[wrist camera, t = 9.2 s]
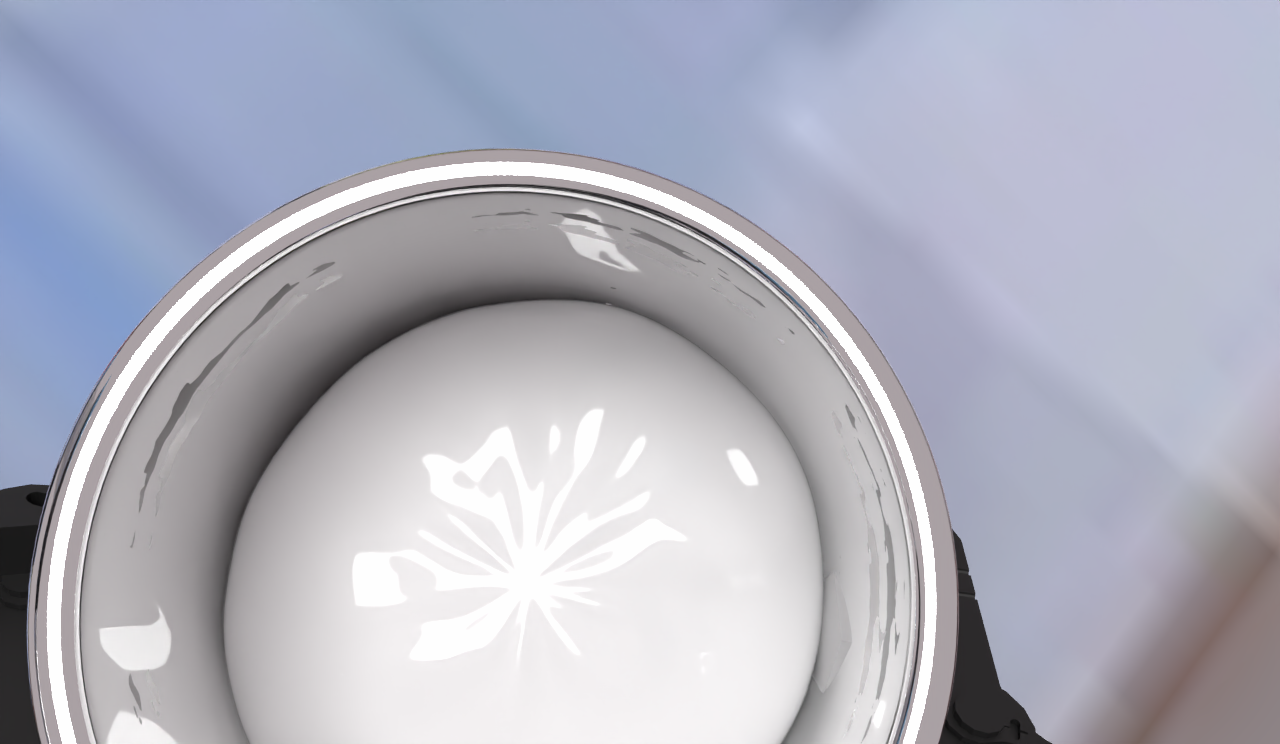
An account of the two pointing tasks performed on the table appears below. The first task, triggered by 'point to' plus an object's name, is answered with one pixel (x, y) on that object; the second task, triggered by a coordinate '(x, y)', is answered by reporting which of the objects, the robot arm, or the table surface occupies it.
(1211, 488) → the table surface
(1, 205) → the table surface
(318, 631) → the beer glass
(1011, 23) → the table surface
